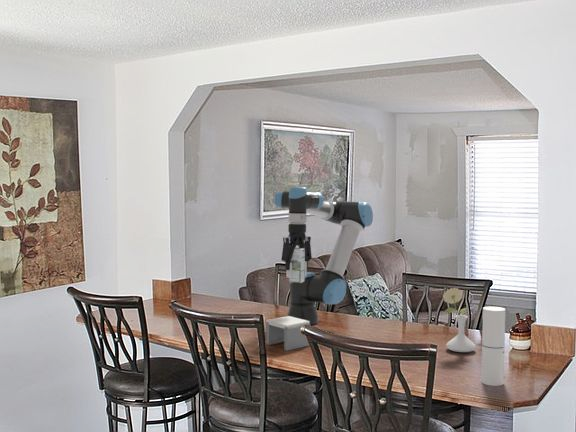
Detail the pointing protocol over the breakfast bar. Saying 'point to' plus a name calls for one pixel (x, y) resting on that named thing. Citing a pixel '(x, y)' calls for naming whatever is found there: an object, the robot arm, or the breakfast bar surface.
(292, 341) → the low shelf
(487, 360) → the cylindrical container
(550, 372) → the breakfast bar surface
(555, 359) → the breakfast bar surface
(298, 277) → the syrup box
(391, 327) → the breakfast bar surface
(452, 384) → the breakfast bar surface
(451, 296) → the flower in vase
